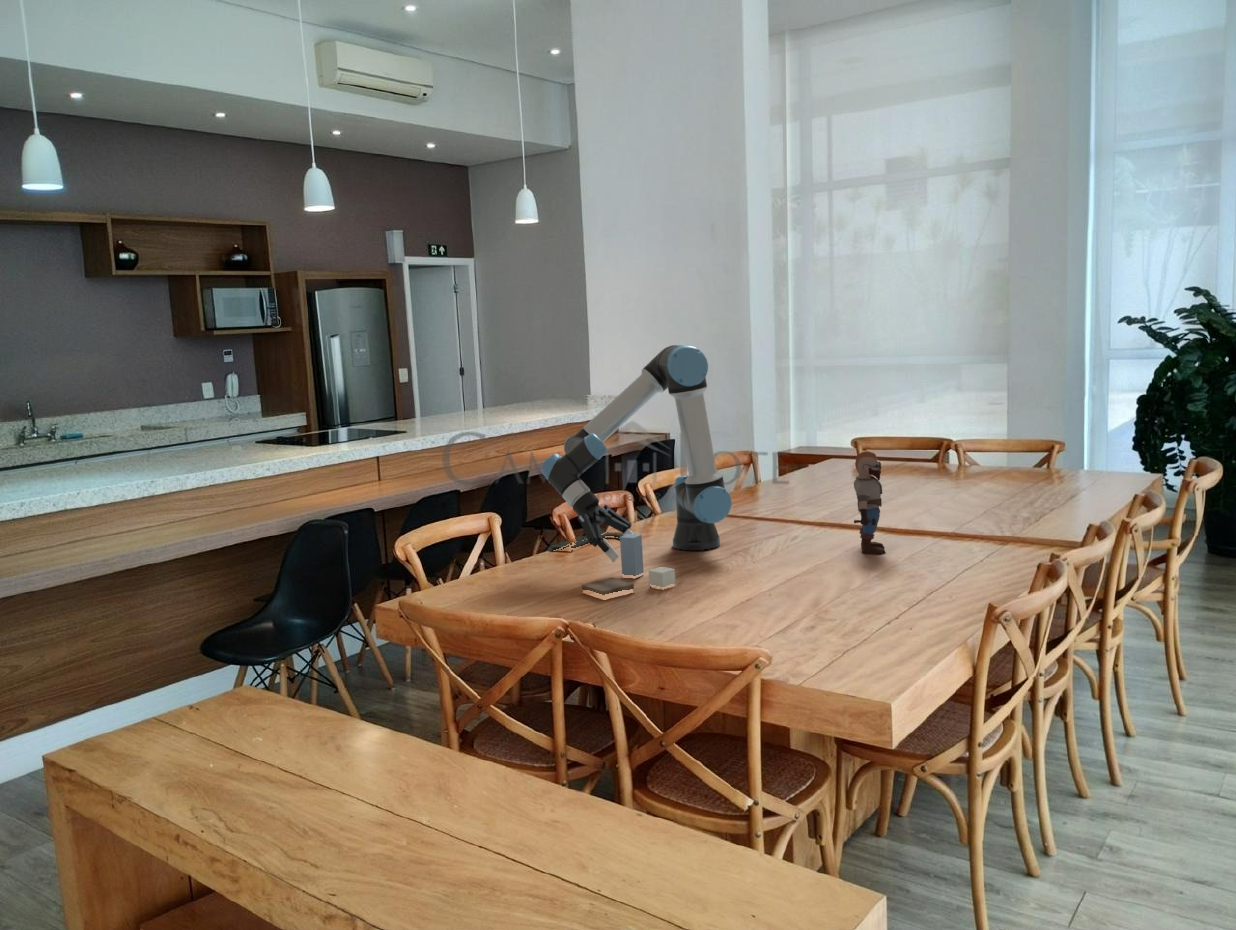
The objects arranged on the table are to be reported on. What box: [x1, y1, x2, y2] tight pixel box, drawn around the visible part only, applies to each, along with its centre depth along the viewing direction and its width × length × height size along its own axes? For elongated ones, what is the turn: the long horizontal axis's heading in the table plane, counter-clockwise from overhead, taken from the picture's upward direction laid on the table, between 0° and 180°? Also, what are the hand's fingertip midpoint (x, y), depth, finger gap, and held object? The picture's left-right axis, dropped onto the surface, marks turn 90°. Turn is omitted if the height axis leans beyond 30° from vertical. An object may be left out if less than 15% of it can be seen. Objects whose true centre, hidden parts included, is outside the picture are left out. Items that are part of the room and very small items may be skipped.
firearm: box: [547, 528, 624, 552], centre depth 328 cm, size 28×2×15 cm
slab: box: [581, 577, 635, 595], centre depth 265 cm, size 10×10×3 cm
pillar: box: [619, 533, 645, 576], centre depth 281 cm, size 4×4×12 cm
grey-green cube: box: [648, 566, 676, 587], centre depth 268 cm, size 5×5×5 cm
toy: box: [853, 451, 887, 555], centre depth 294 cm, size 22×9×30 cm, turn 168°
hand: (628, 553), depth 280 cm, fingers open, 13 cm apart
